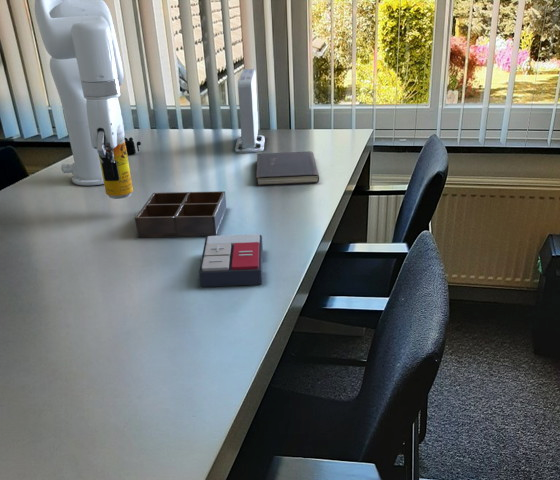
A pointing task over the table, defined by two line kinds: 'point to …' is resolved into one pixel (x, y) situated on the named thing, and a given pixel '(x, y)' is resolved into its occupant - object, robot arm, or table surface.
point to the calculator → (232, 260)
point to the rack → (182, 214)
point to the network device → (248, 113)
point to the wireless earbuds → (131, 146)
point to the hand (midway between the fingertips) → (116, 174)
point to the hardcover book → (286, 168)
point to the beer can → (119, 170)
